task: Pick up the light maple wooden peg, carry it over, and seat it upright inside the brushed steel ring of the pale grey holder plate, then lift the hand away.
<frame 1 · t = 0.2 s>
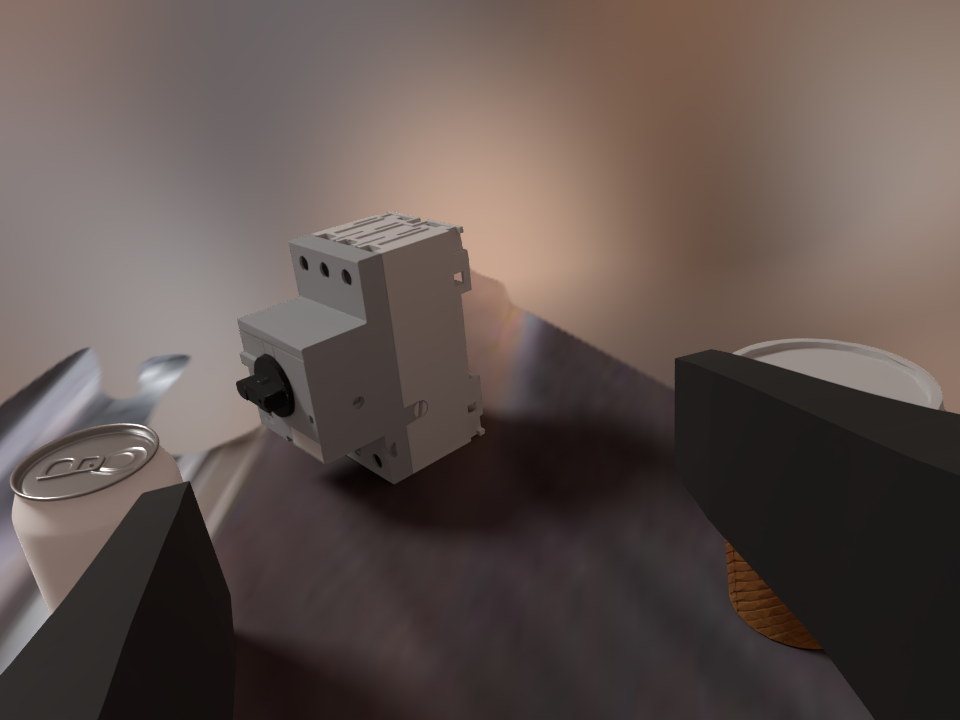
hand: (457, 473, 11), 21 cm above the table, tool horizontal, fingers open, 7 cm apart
circuit breaker: (372, 460, 52), on the table
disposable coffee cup: (796, 603, 37), on the table
can: (164, 674, 36), on the table
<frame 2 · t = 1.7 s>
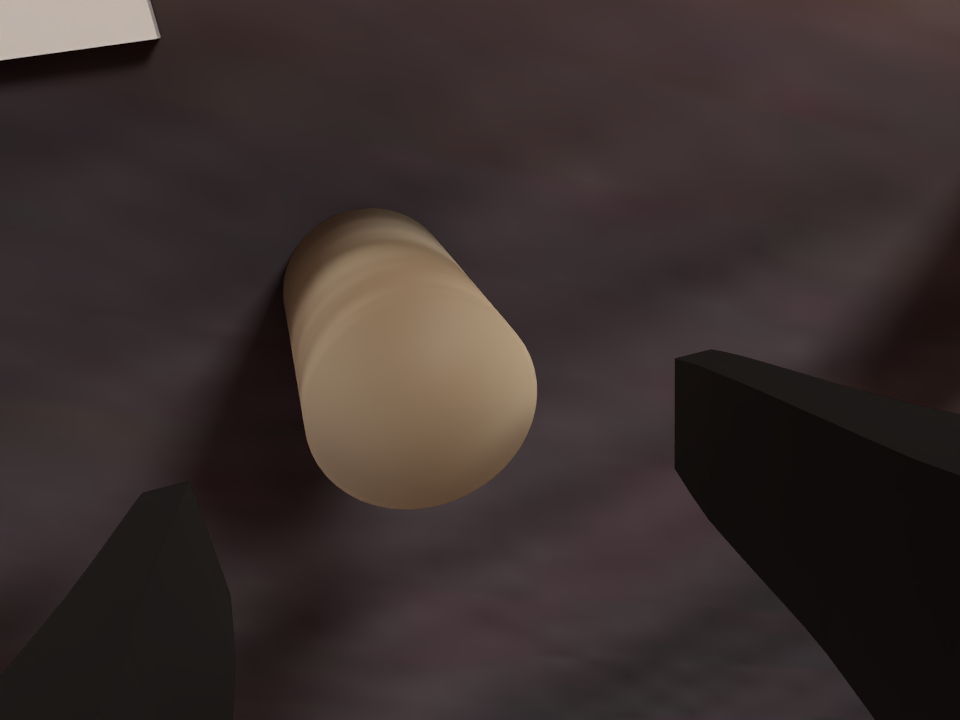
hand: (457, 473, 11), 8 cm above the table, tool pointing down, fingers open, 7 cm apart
maple peg: (369, 291, 18), on the table
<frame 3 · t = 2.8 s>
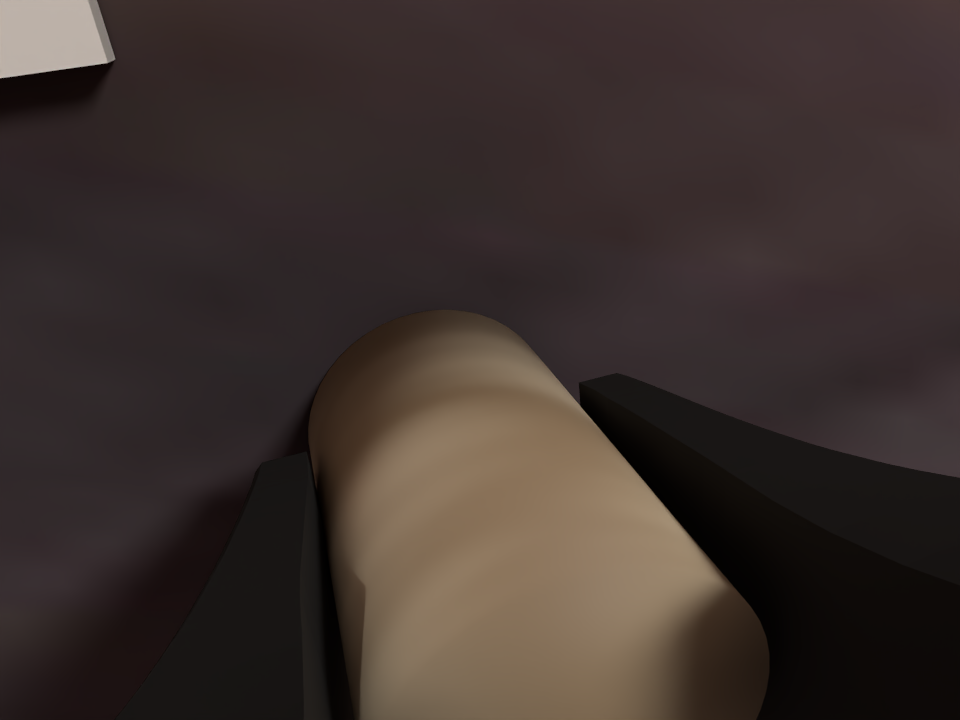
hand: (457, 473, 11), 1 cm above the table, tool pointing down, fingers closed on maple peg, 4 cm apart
maple peg: (434, 425, 12), on the table, touching gripper
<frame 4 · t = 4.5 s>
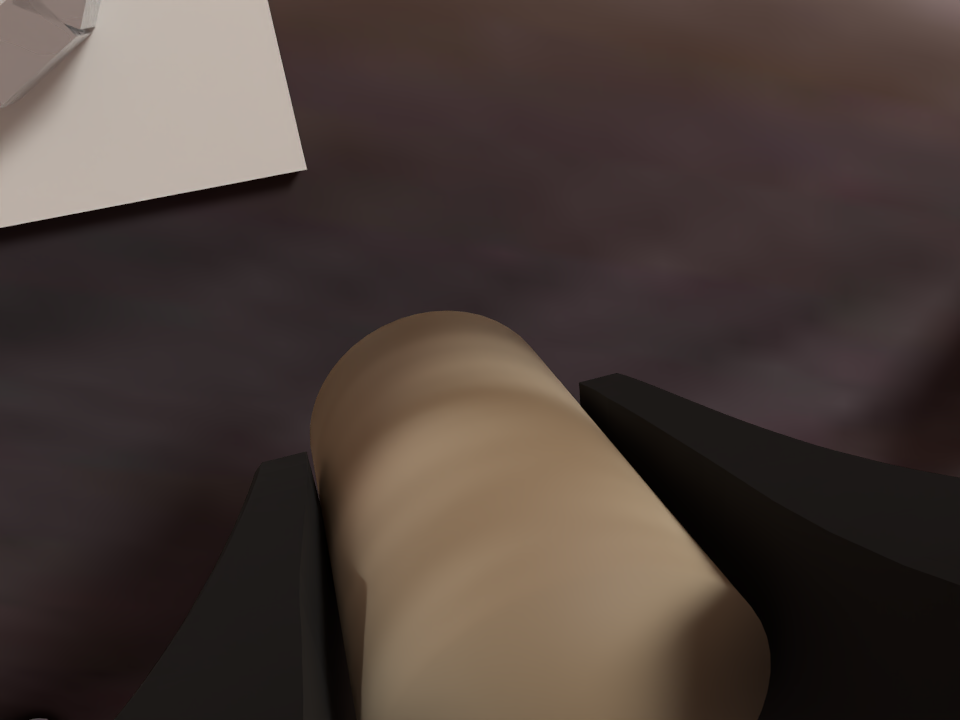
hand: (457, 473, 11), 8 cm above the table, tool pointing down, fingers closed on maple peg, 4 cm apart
maple peg: (435, 426, 12), point 7 cm above the table, touching gripper
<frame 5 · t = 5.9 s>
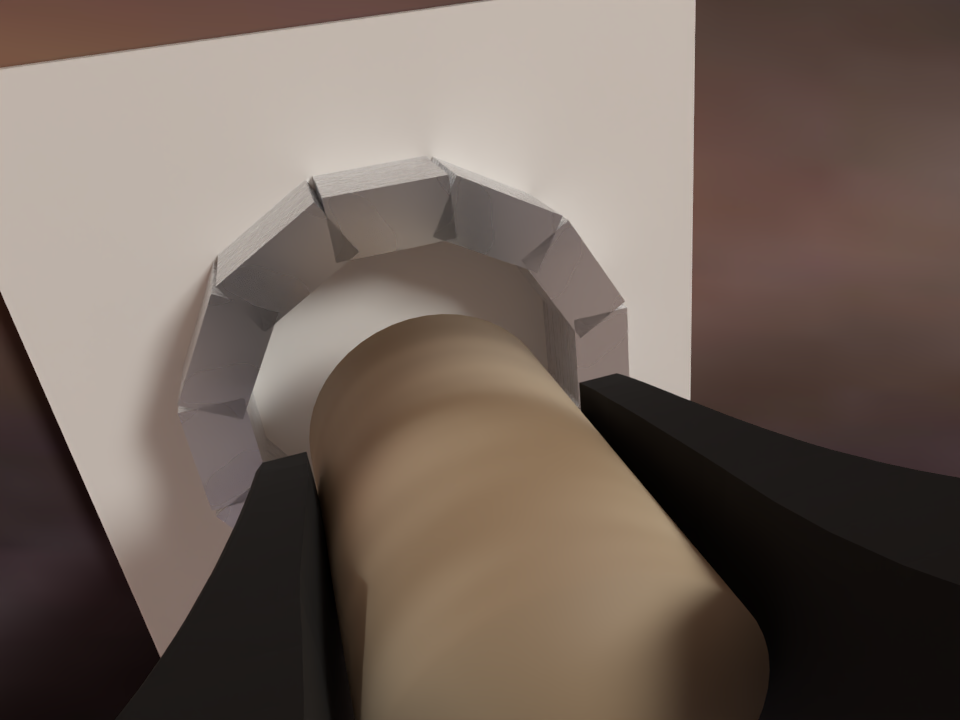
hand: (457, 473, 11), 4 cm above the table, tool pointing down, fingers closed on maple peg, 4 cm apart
peg holder: (400, 354, 15), on the table
maple peg: (435, 429, 12), point 3 cm above the table, touching gripper
when the fingers open (3 cm above the table, at t = 6.5 s): maple peg drops 1 cm, resting on peg holder.
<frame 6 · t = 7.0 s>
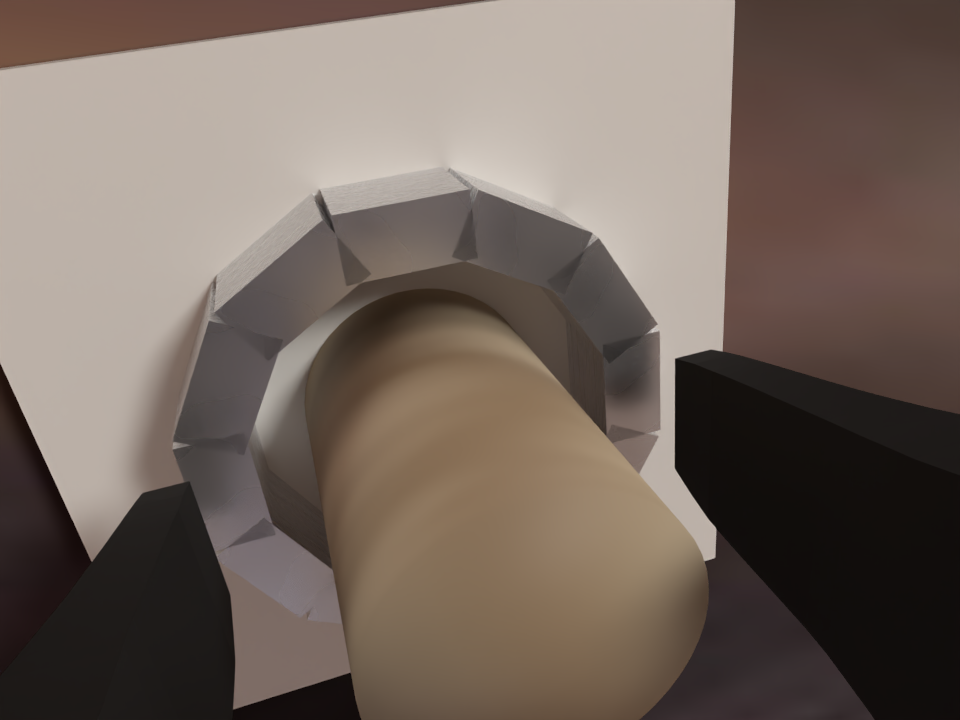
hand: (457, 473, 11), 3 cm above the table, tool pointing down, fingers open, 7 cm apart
peg holder: (412, 377, 14), on the table
maple peg: (420, 396, 13), point 1 cm above the table, touching peg holder
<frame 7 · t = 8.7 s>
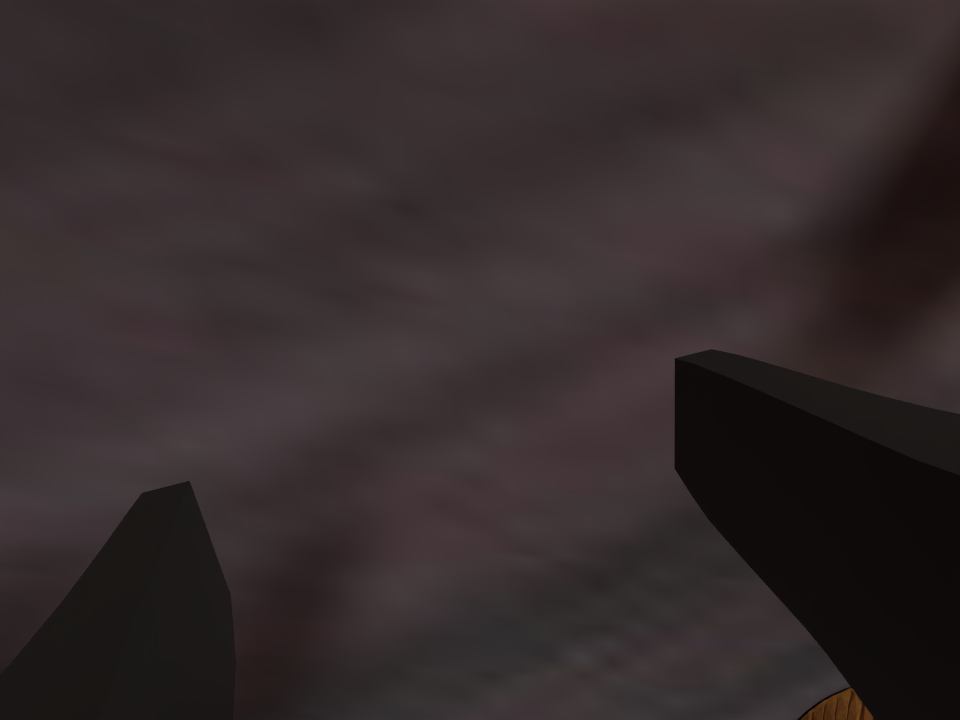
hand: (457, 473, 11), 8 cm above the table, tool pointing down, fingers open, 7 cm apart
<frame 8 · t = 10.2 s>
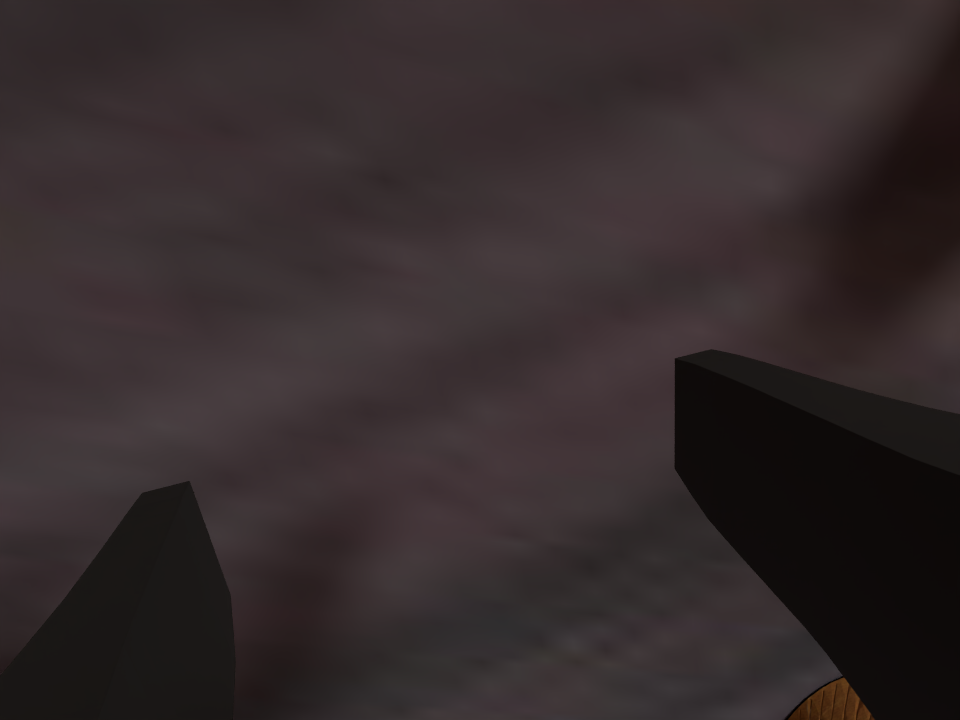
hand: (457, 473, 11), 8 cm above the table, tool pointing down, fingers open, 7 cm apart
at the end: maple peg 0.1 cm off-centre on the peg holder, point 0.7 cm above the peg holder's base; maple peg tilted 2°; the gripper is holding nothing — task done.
